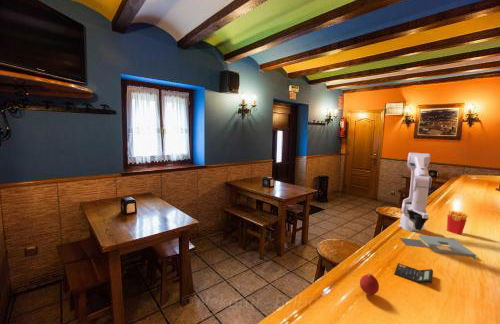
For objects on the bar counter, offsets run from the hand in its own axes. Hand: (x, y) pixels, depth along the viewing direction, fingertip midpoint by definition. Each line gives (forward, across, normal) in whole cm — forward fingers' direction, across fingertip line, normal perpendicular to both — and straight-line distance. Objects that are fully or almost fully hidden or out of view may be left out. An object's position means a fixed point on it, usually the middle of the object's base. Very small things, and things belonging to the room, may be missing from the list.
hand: (415, 227), depth 118 cm
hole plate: (+9, 0, +14) cm, 17 cm away
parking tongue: (+9, 0, 0) cm, 9 cm away
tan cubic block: (+2, 0, 0) cm, 2 cm away
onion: (+9, +44, -33) cm, 56 cm away
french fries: (+9, -22, +31) cm, 39 cm away
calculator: (+10, +28, -12) cm, 32 cm away
